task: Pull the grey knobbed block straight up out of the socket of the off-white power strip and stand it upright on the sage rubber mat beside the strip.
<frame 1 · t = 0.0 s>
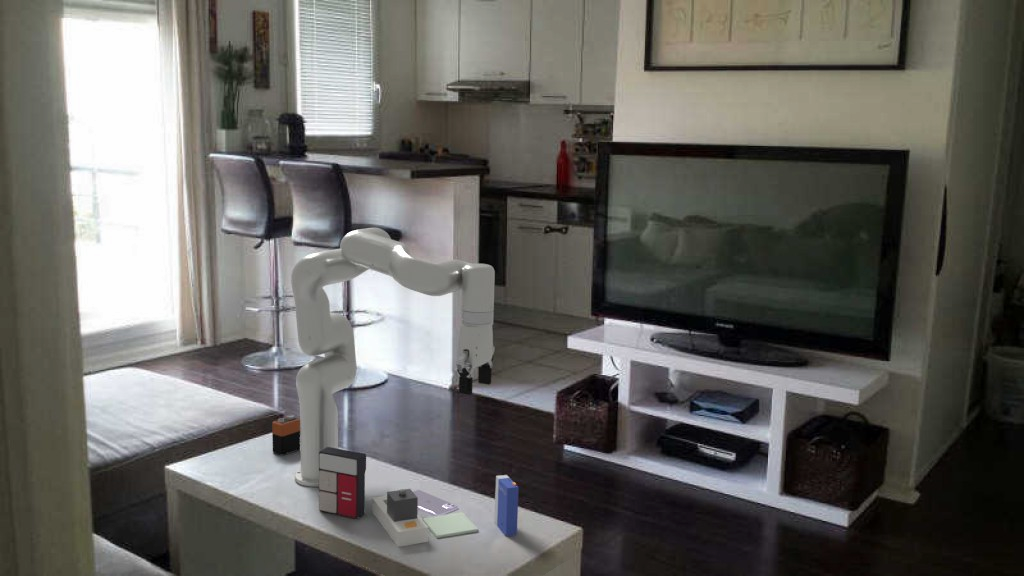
hand: (475, 388, 214), 31 cm above the table, tool pointing down, fingers open, 9 cm apart
mat: (449, 525, 212), on the table
grey knobbed block: (401, 521, 209), point 2 cm above the table, touching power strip
red grey panelled box: (341, 513, 218), on the table
battery: (286, 451, 257), on the table
walkman: (505, 529, 212), on the table
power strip: (399, 526, 211), on the table
mobile phone: (427, 505, 225), on the table
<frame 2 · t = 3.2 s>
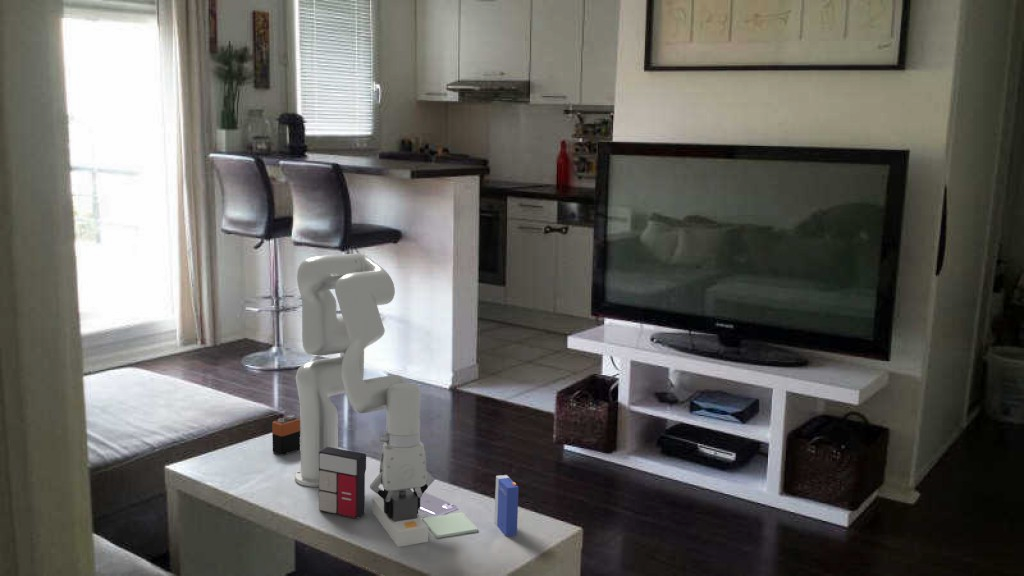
hand: (402, 513, 209), 4 cm above the table, tool pointing down, fingers closed on grey knobbed block, 5 cm apart
grey knobbed block: (401, 521, 209), point 2 cm above the table, touching gripper, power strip
everything else where it was.
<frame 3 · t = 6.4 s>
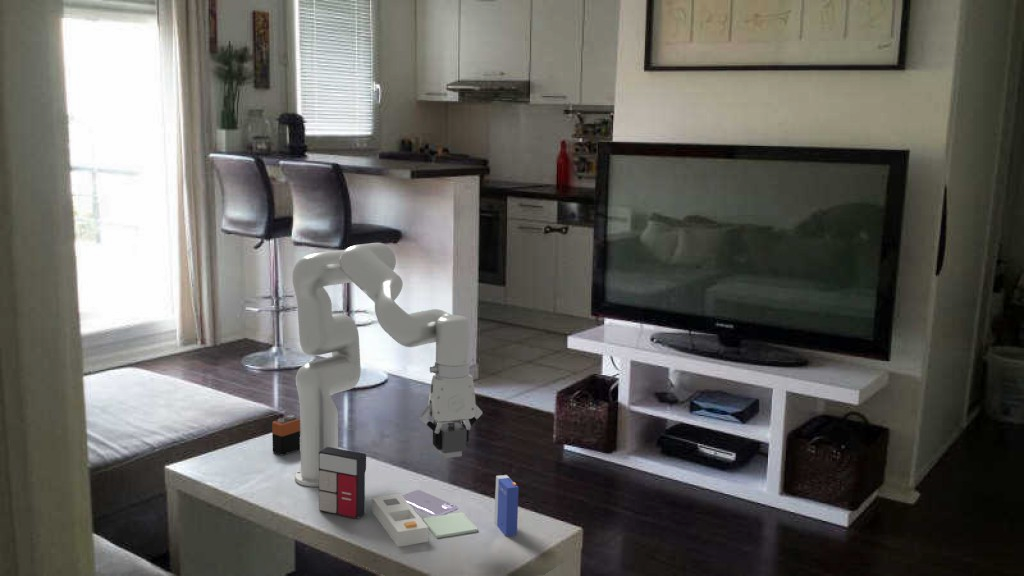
hand: (450, 445, 209), 20 cm above the table, tool pointing down, fingers closed on grey knobbed block, 5 cm apart
grey knobbed block: (450, 454, 209), point 18 cm above the table, touching gripper
everything else where it was.
when the fingers open (4 cm above the table, at t = 9.7 s): grey knobbed block drops 2 cm, resting on mat.
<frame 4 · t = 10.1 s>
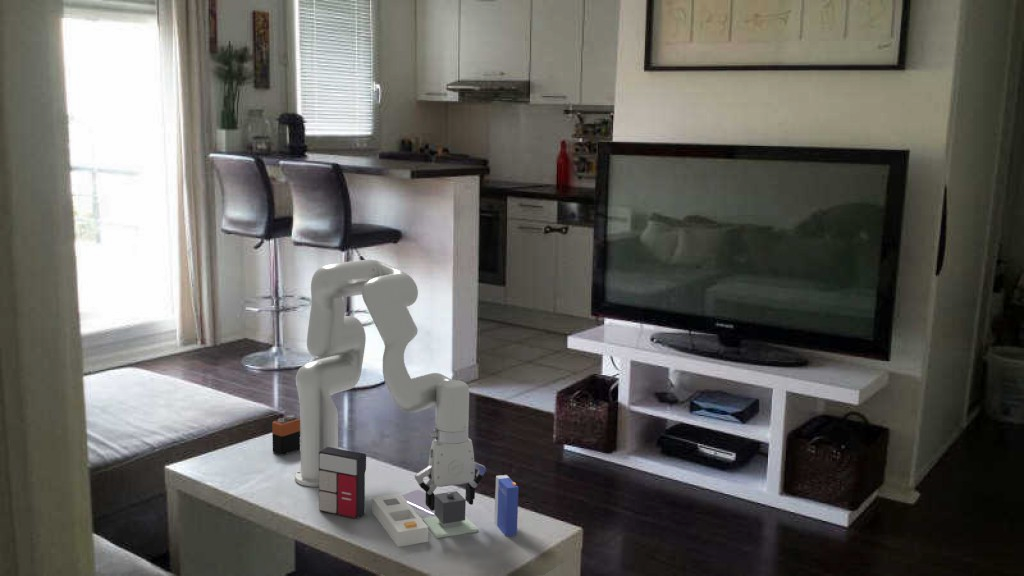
hand: (450, 505, 212), 5 cm above the table, tool pointing down, fingers open, 9 cm apart
grey knobbed block: (449, 523, 212), point 1 cm above the table, touching mat
everything else where it was.
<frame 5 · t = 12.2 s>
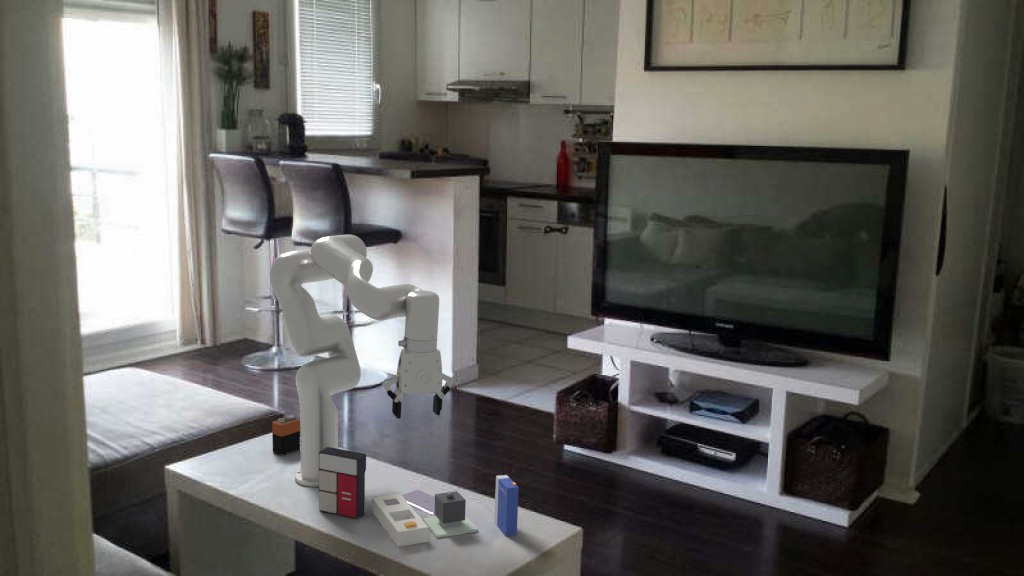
hand: (416, 415, 213), 25 cm above the table, tool pointing down, fingers open, 9 cm apart
nothing on the table moved.
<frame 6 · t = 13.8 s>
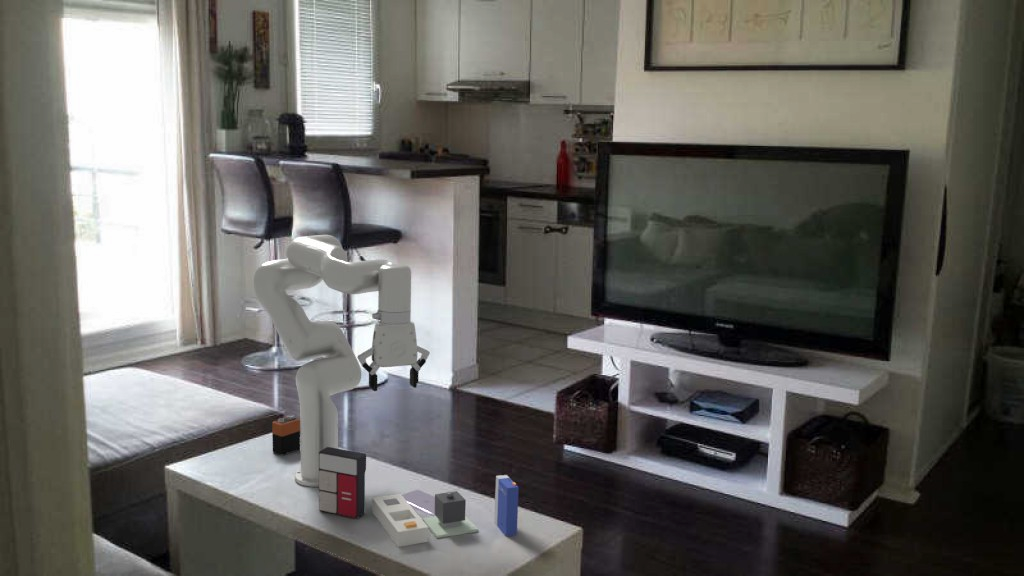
hand: (393, 387, 216), 30 cm above the table, tool pointing down, fingers open, 9 cm apart
nothing on the table moved.
at the end: grey knobbed block inside the target area on the mat (0.0 cm from its centre), point 0.6 cm above the mat's base; grey knobbed block tilted 0°; the gripper is holding nothing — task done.
